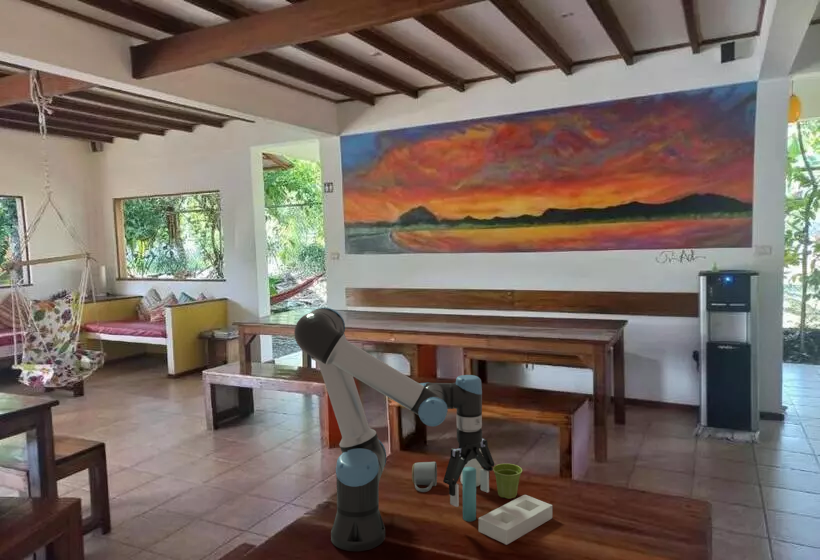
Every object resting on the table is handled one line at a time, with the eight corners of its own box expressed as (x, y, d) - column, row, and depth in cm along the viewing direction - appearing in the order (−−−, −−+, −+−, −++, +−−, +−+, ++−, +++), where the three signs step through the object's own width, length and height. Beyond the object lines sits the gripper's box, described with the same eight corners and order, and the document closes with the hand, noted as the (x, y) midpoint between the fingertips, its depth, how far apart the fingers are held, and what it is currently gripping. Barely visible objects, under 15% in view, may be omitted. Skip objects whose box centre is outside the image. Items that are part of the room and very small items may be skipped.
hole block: (478, 531, 164) (478, 517, 164) (524, 506, 179) (524, 494, 179) (506, 544, 157) (506, 530, 157) (552, 518, 172) (552, 505, 172)
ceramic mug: (413, 479, 201) (413, 457, 200) (437, 479, 200) (437, 458, 199) (410, 492, 190) (410, 470, 190) (435, 493, 189) (435, 471, 189)
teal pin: (459, 518, 172) (459, 469, 171) (468, 513, 175) (468, 465, 174) (470, 522, 169) (469, 473, 168) (478, 518, 172) (478, 469, 171)
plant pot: (527, 498, 185) (527, 472, 185) (502, 503, 182) (502, 476, 181) (512, 486, 194) (512, 461, 193) (487, 491, 190) (487, 466, 190)
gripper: (449, 441, 159) (450, 516, 161) (505, 421, 176) (506, 489, 177) (430, 435, 165) (431, 507, 166) (486, 416, 181) (487, 481, 183)
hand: (470, 498), depth 172 cm, fingers open, 13 cm apart
